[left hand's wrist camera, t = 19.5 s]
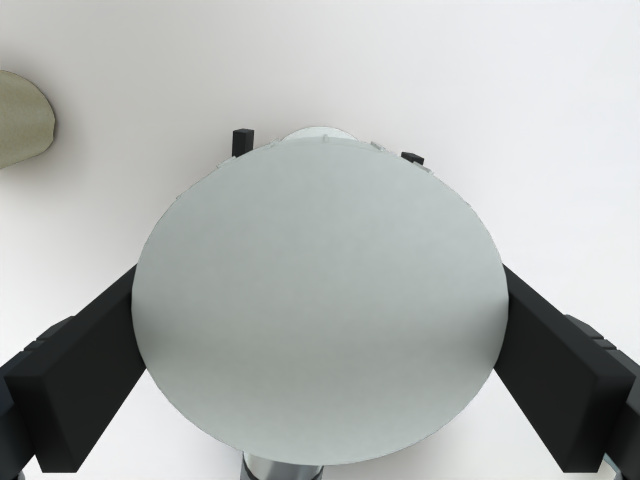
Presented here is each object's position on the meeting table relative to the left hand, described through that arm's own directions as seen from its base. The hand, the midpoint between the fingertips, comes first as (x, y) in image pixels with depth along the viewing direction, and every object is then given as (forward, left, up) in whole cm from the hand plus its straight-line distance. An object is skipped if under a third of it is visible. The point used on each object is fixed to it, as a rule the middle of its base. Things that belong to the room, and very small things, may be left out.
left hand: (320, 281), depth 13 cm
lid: (0, 0, +3) cm, 3 cm away
